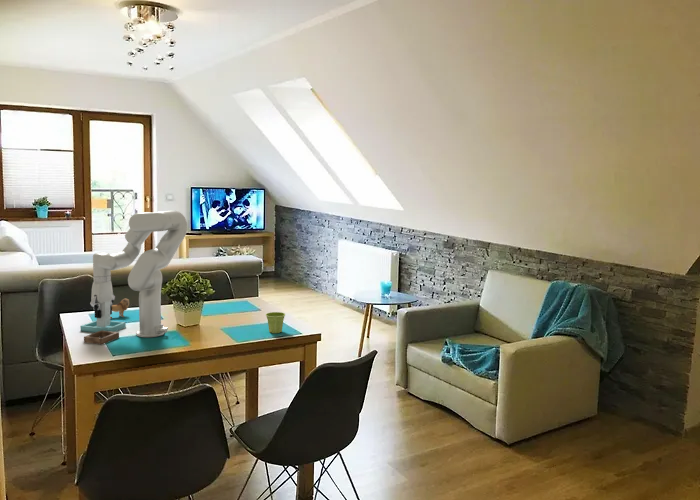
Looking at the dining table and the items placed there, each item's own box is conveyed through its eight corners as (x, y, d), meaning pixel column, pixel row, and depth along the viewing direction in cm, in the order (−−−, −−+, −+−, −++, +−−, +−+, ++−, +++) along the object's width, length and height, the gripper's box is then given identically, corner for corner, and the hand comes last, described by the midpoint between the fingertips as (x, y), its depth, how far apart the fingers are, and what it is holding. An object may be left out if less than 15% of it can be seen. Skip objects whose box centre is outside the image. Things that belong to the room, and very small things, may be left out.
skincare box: (101, 324, 287) (101, 299, 286) (110, 324, 287) (110, 300, 286) (96, 326, 281) (96, 301, 280) (105, 327, 281) (105, 302, 280)
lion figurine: (127, 314, 315) (127, 297, 314) (131, 316, 311) (131, 299, 310) (98, 318, 306) (98, 300, 304) (102, 320, 302) (102, 302, 301)
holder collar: (119, 337, 272) (118, 332, 271) (102, 344, 261) (101, 338, 261) (101, 335, 274) (101, 330, 274) (84, 342, 264) (83, 336, 263)
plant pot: (266, 335, 283) (267, 317, 282) (264, 329, 292) (264, 312, 291) (286, 334, 285) (286, 316, 284) (283, 328, 294) (283, 311, 293)
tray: (125, 327, 289) (125, 322, 289) (107, 334, 277) (107, 329, 276) (99, 324, 293) (99, 319, 293) (80, 331, 281) (80, 325, 280)
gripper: (107, 275, 291) (108, 311, 293) (82, 281, 274) (83, 319, 277) (121, 276, 289) (122, 312, 291) (96, 282, 272) (97, 321, 275)
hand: (103, 315), depth 284 cm, fingers closed on skincare box, 6 cm apart
